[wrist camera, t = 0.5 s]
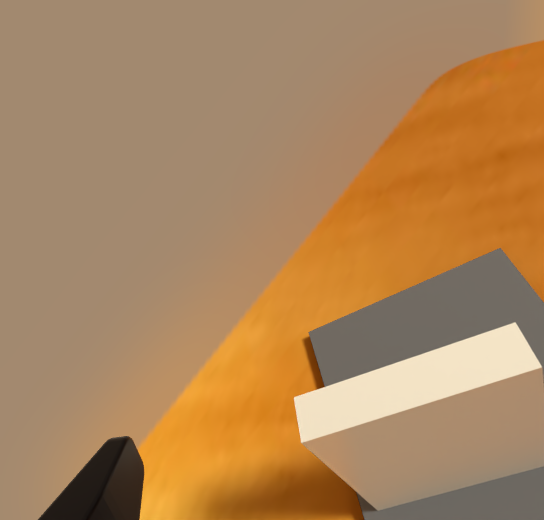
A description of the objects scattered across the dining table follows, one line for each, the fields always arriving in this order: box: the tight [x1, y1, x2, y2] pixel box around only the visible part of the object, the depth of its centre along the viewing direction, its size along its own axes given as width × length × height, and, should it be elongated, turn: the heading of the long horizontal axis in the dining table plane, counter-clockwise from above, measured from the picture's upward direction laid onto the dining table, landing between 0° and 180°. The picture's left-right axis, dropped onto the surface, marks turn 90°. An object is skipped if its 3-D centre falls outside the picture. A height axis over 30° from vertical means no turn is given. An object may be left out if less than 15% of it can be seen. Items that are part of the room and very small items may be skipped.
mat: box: [309, 248, 544, 520], centre depth 23 cm, size 15×12×1 cm
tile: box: [294, 322, 544, 511], centre depth 18 cm, size 2×8×9 cm, turn 97°
